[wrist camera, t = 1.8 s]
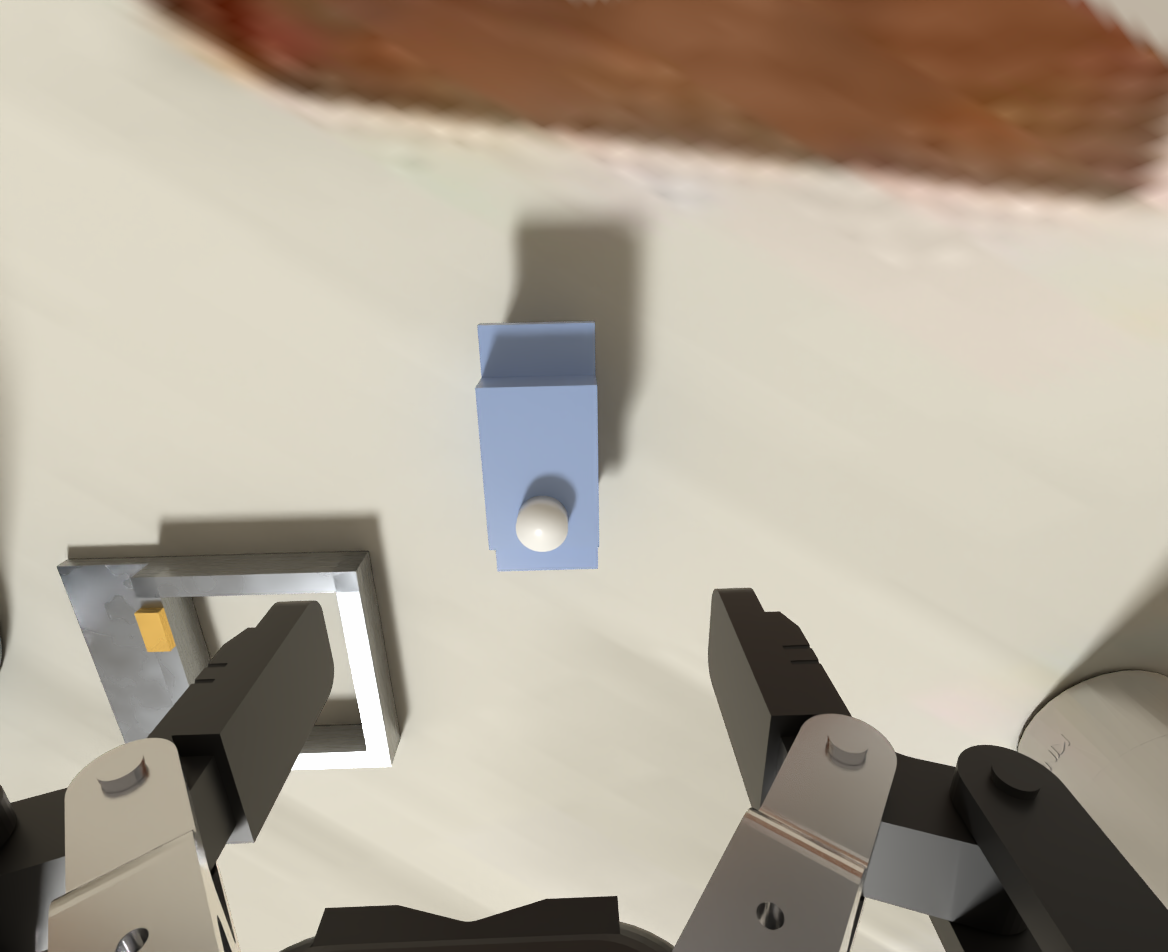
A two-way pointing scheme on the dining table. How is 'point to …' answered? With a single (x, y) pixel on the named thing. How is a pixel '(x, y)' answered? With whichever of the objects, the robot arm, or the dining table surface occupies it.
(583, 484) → the block
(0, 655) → the canister
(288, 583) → the chassis plate
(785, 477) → the dining table surface
